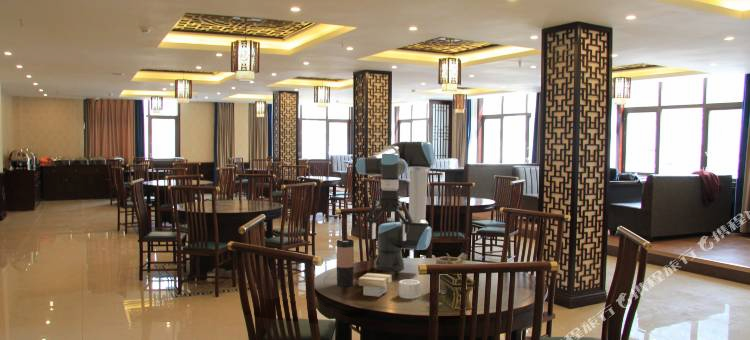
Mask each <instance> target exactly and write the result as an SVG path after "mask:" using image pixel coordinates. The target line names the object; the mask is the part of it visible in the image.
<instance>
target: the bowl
mask: <svg viewBox="0 0 750 340" xmlns="http://www.w3.org/2000/svg"><path fill="white" fill-rule="evenodd" d="M398 295H399V296H398V297H399V298H401V299H406V300H416V299H419V298H420V297H421V281H420V280H418V279H410V278H408V279H401V280H399V281H398Z"/></svg>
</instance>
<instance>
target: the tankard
mask: <svg viewBox="0 0 750 340" xmlns="http://www.w3.org/2000/svg"><path fill="white" fill-rule="evenodd" d="M466 255H467V254H466V253H464V252H462V253H460V255H458V256H457V257H453V256H450V259H451V263H450V264H452V262H455V263H456V264H457V263H459V262H460V261H461V260H463V259H465V257H466ZM435 260H436V261H435V264H446V263H447V261H448V256H440V257H437V258H435ZM461 263H462V264H463V261H462V262H461ZM440 293H444V294H445V286H444V284H443V282H442V281H441V280H440Z"/></svg>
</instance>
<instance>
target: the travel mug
mask: <svg viewBox="0 0 750 340" xmlns="http://www.w3.org/2000/svg"><path fill="white" fill-rule="evenodd" d="M354 241H355V240H353V239H351V238H350V239H349V238H347V239H345V238H344V239H342V240H339V239H337V240H336V285H337V287H340V288H349V287H350V286H351V287H353V286H354V275H355V274H354V271H355V270H354V269H355V263H354V261H355V258H354V257H355V253H354V252H355V251H354V249H355V247H354V245H355V244H354V243H355V242H354Z"/></svg>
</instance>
